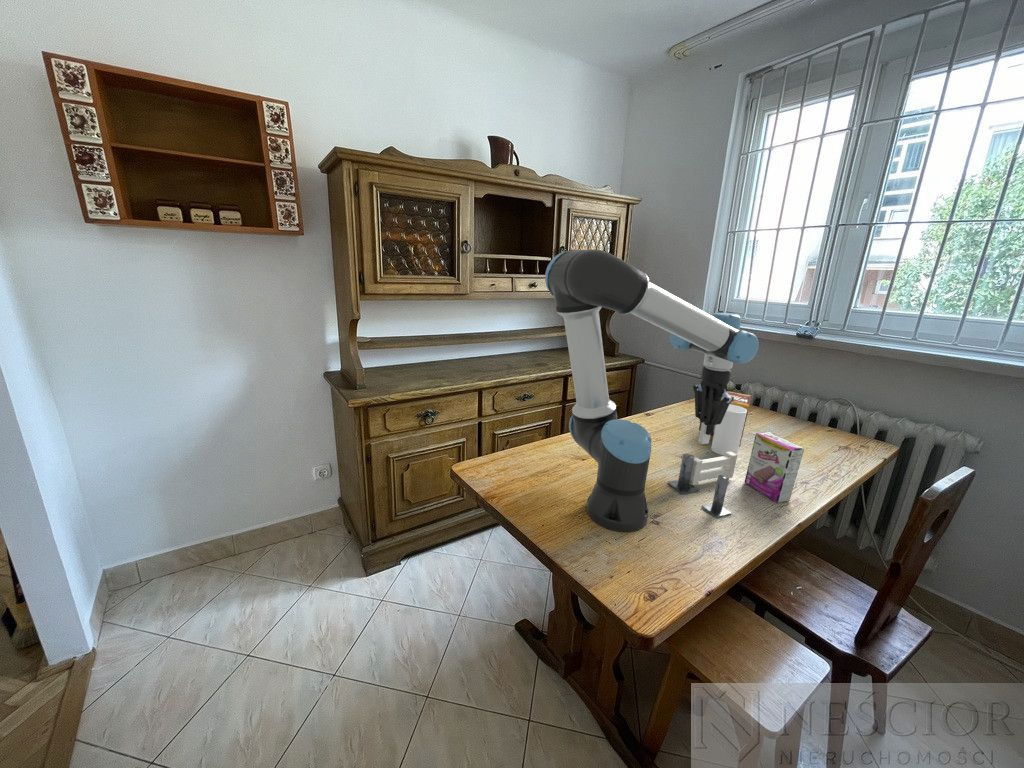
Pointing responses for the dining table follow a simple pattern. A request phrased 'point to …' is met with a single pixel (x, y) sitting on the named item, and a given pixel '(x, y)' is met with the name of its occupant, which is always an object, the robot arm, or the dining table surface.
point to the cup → (729, 431)
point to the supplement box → (740, 401)
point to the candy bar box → (773, 466)
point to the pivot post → (684, 476)
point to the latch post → (718, 499)
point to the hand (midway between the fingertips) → (703, 442)
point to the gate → (698, 465)
